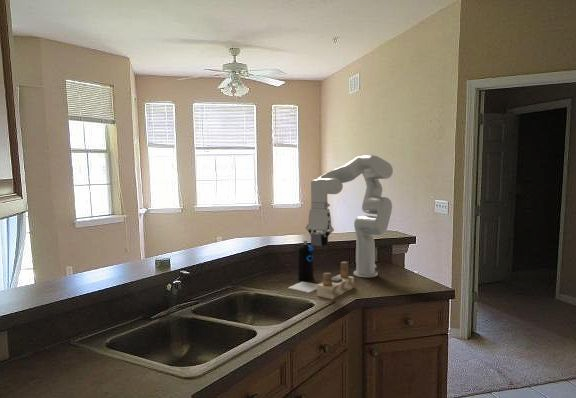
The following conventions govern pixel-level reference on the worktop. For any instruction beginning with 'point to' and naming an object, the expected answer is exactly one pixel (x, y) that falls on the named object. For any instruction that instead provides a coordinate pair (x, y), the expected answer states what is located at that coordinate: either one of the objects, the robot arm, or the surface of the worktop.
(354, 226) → the robot arm
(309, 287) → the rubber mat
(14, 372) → the worktop surface
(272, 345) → the worktop surface
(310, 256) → the aerosol can
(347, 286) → the cream pegged block
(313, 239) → the lever cap
